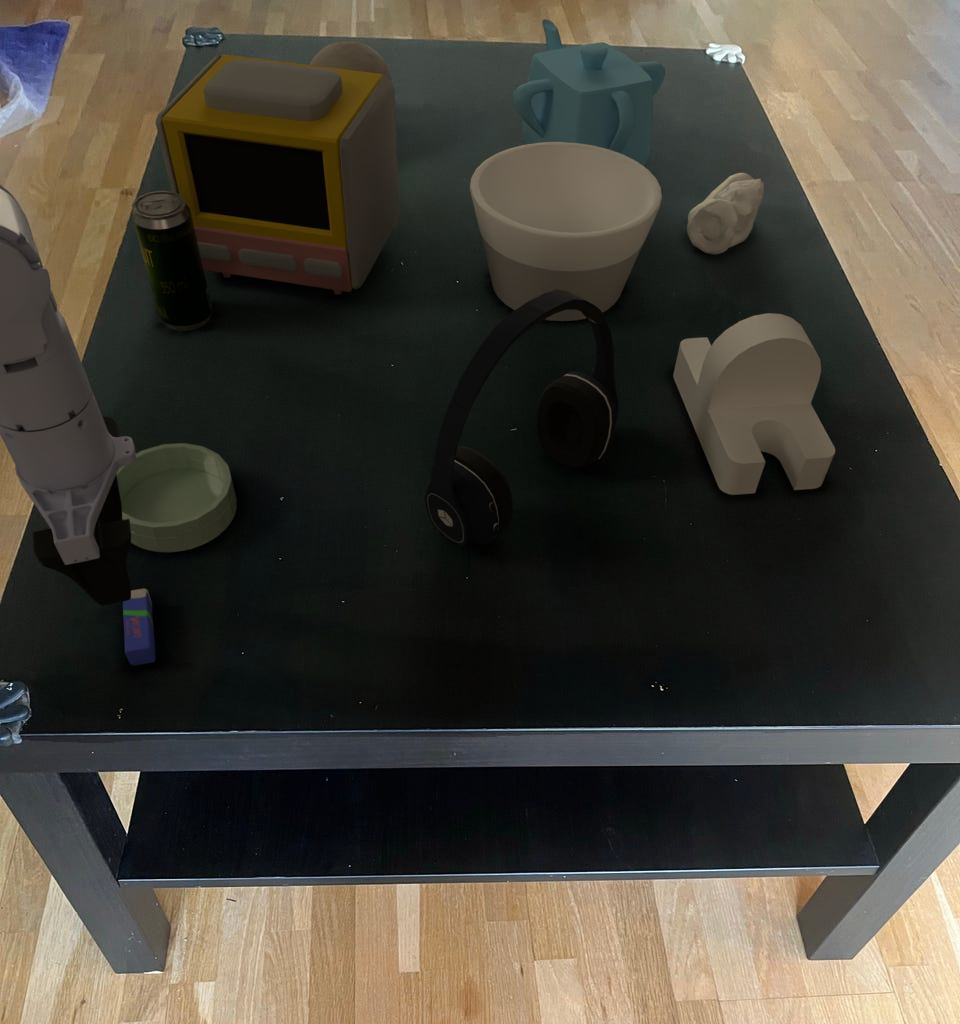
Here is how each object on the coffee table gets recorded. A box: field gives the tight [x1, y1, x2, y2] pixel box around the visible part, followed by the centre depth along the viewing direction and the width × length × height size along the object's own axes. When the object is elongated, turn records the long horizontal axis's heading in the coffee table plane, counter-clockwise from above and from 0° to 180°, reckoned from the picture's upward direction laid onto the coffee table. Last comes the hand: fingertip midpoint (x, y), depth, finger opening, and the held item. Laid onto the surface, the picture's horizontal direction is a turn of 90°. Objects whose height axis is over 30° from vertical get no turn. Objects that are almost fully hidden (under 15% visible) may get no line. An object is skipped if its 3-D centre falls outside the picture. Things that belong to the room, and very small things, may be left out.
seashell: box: [308, 40, 393, 83], centre depth 120 cm, size 15×14×15 cm
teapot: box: [512, 18, 666, 168], centre depth 115 cm, size 18×16×14 cm
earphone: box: [424, 290, 620, 547], centre depth 76 cm, size 20×7×18 cm, turn 137°
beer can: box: [131, 190, 213, 332], centre depth 94 cm, size 5×5×12 cm
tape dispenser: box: [672, 312, 836, 496], centre depth 86 cm, size 10×18×11 cm, turn 8°
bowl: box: [469, 142, 663, 322], centre depth 100 cm, size 19×19×11 cm
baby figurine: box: [686, 172, 765, 255], centre depth 109 cm, size 9×12×8 cm
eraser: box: [122, 588, 156, 666], centre depth 72 cm, size 2×6×2 cm, turn 14°
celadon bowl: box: [116, 442, 238, 553], centre depth 80 cm, size 10×10×3 cm
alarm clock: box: [154, 53, 401, 295], centre depth 98 cm, size 20×16×18 cm
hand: (111, 558), depth 66 cm, fingers open, 7 cm apart
